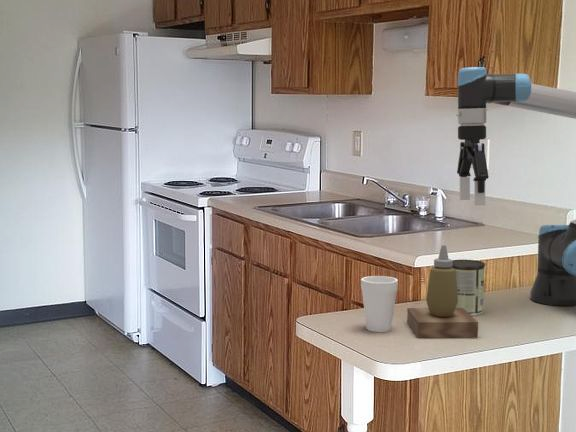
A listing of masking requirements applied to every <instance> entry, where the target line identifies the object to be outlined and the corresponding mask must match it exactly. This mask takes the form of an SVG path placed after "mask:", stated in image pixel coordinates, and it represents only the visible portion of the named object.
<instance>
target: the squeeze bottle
mask: <svg viewBox="0 0 576 432" xmlns="http://www.w3.org/2000/svg"><path fill="white" fill-rule="evenodd" d="M453 260H454V259H450V258H449V254H448V249H447V245H446V244H445V245H441V247H440V251H439V254H438V258H434V260H433V267H431V268H430V270H429V277H428V284H427V291H426V299H425V300H426V305H427V308H429V311H430V314H431V315H434V316H439V317H448V316H452V315H453V314H454V311H455V308H456V306H457V303H458V293H457V278H456V270H455V269H454V268H452V264H453Z"/></svg>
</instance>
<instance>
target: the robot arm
mask: <svg viewBox="0 0 576 432" xmlns="http://www.w3.org/2000/svg"><path fill="white" fill-rule="evenodd" d="M456 86H457V113H456V114H455V115H456V117H457V123H458V124H459V126H458V127H457V138H458V140H460V141H461V142H460V144H459V150H460V151H459V155H458V156H459V157H458V162H457V163H458V164H457V171H456V173H457V175H458V176H459V200H460V201H469V200H471V176H472V175H471V172H470V171H471V167H472V169H473V173H474V177H473V183H474V191H473V193H474V201H473V202H474V206H486V181H487V179H489V171H488V166H487V165H488V164H487V159H486V153H485V146H486V145H485V143H483V142H481V141H480V140H485V139H486V138H487V126H486V125H485V124H487V104H495V105H501V106H507V107H513V108H517V109H521V110H522V109H523V110H528V111H531V112H532V111H534V112H537V113H542V114H543V113H544V114H548V115H554V116H559V117H563V118H564V117H565V118H569V119H574V120H576V91H572V90H568V89H566V90H565V89H561V88H556V87H552V86H545V85H541V84H540V85H539V84H535V83H532V80H531V78H530V76H529V75H528V74H527V73H518V72H517V73H501V74H498V73H497V74H488V73H487V68H486V67H484V66H471V67H462V68H460V69H459V70H458V75H457V85H456ZM462 140H463V141H462ZM480 142H481V143H480ZM537 238H538V245H537V246H538V249H537V272H536V276H535V280H534V282H533V285H532V286H531V289H530V293H529V296H530V297H529V298H530V300H531V301H533V302H535V303H539V304H542V305H547V304H548V305H549V306H556V305H557V306H560V307H571V306H570V305H574V306H576V218H575V219H573V220H570V222H569V224H543V225H541V226H540V227H539V231H538V236H537Z"/></svg>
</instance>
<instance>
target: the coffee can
mask: <svg viewBox="0 0 576 432" xmlns="http://www.w3.org/2000/svg"><path fill="white" fill-rule="evenodd" d="M452 260H453V264H452V268H454V269H455V270H456V278H457V293H458V303H457V306H456V308H464V309H465V310H466V311H467V312H468V313H469V314H470V315H471V316H472V317H473V316H475V317H476V316H480V315H482V314H483V313H484V296H485V295H484V292H485V291H484V289H485V288H484V287H485V267H486V263H485V262H484V261H481V260H476V259H475V260H474V259H452Z"/></svg>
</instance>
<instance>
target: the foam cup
mask: <svg viewBox="0 0 576 432" xmlns="http://www.w3.org/2000/svg"><path fill="white" fill-rule="evenodd" d="M398 281H399V279H398V278H396V277H393V276H392V277H391V276H386V275H385V276H384V275H371V276H365V277H362V278H361V279H360V289H361V292H362V293H361V294H362V300H363V301H362V302H363V310H364V319H365V320H364V321H365V327H366V330H367V329H368V330H367V331H370V332H373V333H374V332H375V333H385V332H389V330H390V331H391V329H392V323H393V316H394V311H395V303H396V296H397V291H398V288H399V287H398V286H399V283H398Z"/></svg>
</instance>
